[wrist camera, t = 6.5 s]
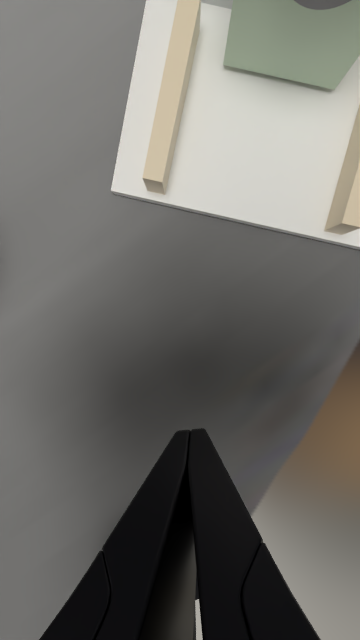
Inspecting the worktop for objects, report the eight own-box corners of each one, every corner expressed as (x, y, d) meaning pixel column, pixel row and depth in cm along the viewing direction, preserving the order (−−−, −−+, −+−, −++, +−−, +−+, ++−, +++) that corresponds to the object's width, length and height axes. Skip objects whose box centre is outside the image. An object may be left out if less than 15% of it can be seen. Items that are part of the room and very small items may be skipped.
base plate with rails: (368, 252, 18) (450, 234, 12) (113, 193, 18) (80, 150, 12) (457, -43, 16) (603, -224, 10) (170, -108, 16) (160, -322, 10)
